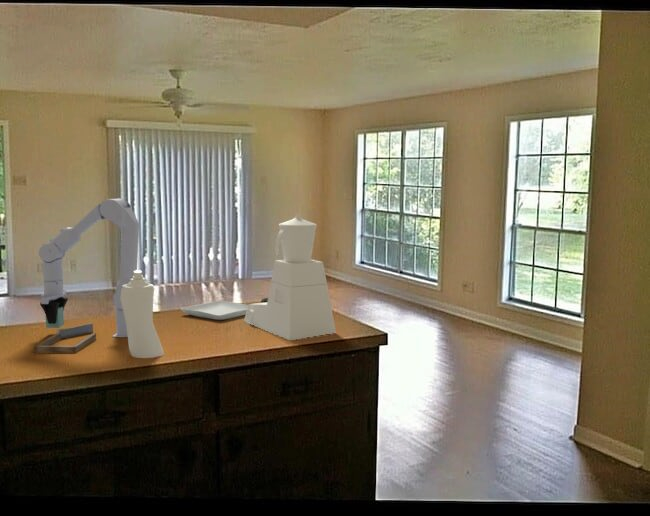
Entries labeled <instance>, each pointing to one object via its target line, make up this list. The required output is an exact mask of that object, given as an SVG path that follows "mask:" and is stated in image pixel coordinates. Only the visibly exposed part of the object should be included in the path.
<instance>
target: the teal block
mask: <svg viewBox="0 0 650 516" xmlns="http://www.w3.org/2000/svg"><path fill="white" fill-rule="evenodd" d="M64 325H65V319H64V311H63V307H58V310H57V319H56V323H55V324H49V323H48V320H47V317H46V316H45V328H46V329H59V328H61V327H63V326H64Z"/></svg>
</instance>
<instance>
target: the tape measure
mask: <svg viewBox="0 0 650 516" xmlns="http://www.w3.org/2000/svg"><path fill="white" fill-rule="evenodd" d="M265 302H268V297H265V298H263V299H261V301H260V303H265Z"/></svg>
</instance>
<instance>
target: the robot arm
mask: <svg viewBox="0 0 650 516" xmlns="http://www.w3.org/2000/svg"><path fill="white" fill-rule="evenodd" d="M101 220H108V221H110V222H112V223H114V224H115V225H116V226H117V227H118V228H119V229H120V230H121V234H120V235H121V239H120V255H119V257H120V258H119V259H120V260H119V277H118V278H119V279H118V281H117V284H116V287H115V292H114V294H113V296H112V303H113V305H114V306H115V316H116V317H115V318H116V319H115V322H116V325H115V326H116V333H115V334H113V335H112V338H114V337H128V336H127V328H126V321H125V316H124V312H123V308H122V303H121V299H120V296H121V290H122V288H123V287H122V286H123V285H125V284H128V283H129V282H130V279H132V278H133V276H134V271H135V270H138V258H139V257H138V256H139V255H138V253H139V252H138V251H139V235H140V233H139V232H140V223H139V220H138V219H137V216H136V214H135V212H134V210H133V206H132V204H130V203H129V202H128V201H127V200H125V198H121V197H117V198H107V199H104V200H103V201H102V202H101V203H98V204H97V205H95V206H94V208H92V210H90V211H89V212H88V213H87V214H86V215H85V216H84V217H83V218H81V220H79V221H78V222H77V223H76V224H75V225H74V226H73V227H72V226H71V227H69V226H67V227H66V228H65V227H62V228H61V229H60V233H58V234H57V235H56V236H55V237H52V238H50V239H49V243H44V244H42V245H41V247H40V248H39V250H38V256H39V258H40V259H41V260H42V274H43V275H42V276H43V277H42V278H43V279H42V280H43V293H41V294H40V302H39V303H40V305H39V306H40V307H41V308H42V310H43V312H44V314H45V318H46V317H47V320H48V323H49V324H55V323H56V319H57V310H58V307H63V312H64V311H65V307H66V305H67V302H68V300H69V298H68V297H66V296H67V290H66V289H64V279H63V277H64V275H63V273H64V272H63V258H64V257H65V255H66V253H67V252H69V251H70V249H72V248H73V247H75V246H76V245H77V244H78V243H79V242H80V241H81V237H82V235H83V233H85V232H86V231H88V230H89V229H90V228H92V227H93V226H94V225H96V224H97V223H98V222H99V221H101Z"/></svg>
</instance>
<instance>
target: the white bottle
mask: <svg viewBox="0 0 650 516" xmlns="http://www.w3.org/2000/svg"><path fill="white" fill-rule="evenodd" d="M122 287H123V288H122V290H121V296H120V299H121V303H122V308H123V312H124V316H125V321H126V328H127V336H128V338H127V342H128V343H127V344H128V350H129V353H130V355H131V357H133V358H137V359H151V358H158V357H161V356H163V355H164V354H165V353H164V349H163V346H162V344H161V341H160V337H159V335H158V333H157V330H156V327H155V324H154V322H153V321H154V319H153V318H154V316H153V315H154V294H155V293H154V292H155V287H154V284H152V283H149V281H147V280H146V278H145V277H144V275H143V271H142V270H140V269H137V270H135V271H134V276H133V278H132V279H130V282H129V283H128V284H125V285H123V286H122Z"/></svg>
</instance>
